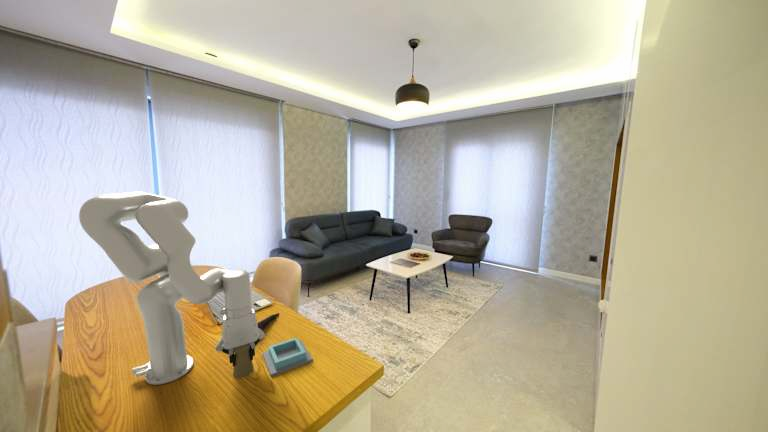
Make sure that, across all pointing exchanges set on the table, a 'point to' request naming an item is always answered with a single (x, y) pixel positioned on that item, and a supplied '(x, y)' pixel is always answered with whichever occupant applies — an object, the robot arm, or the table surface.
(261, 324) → the microphone
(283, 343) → the socket
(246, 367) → the cork
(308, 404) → the table surface
